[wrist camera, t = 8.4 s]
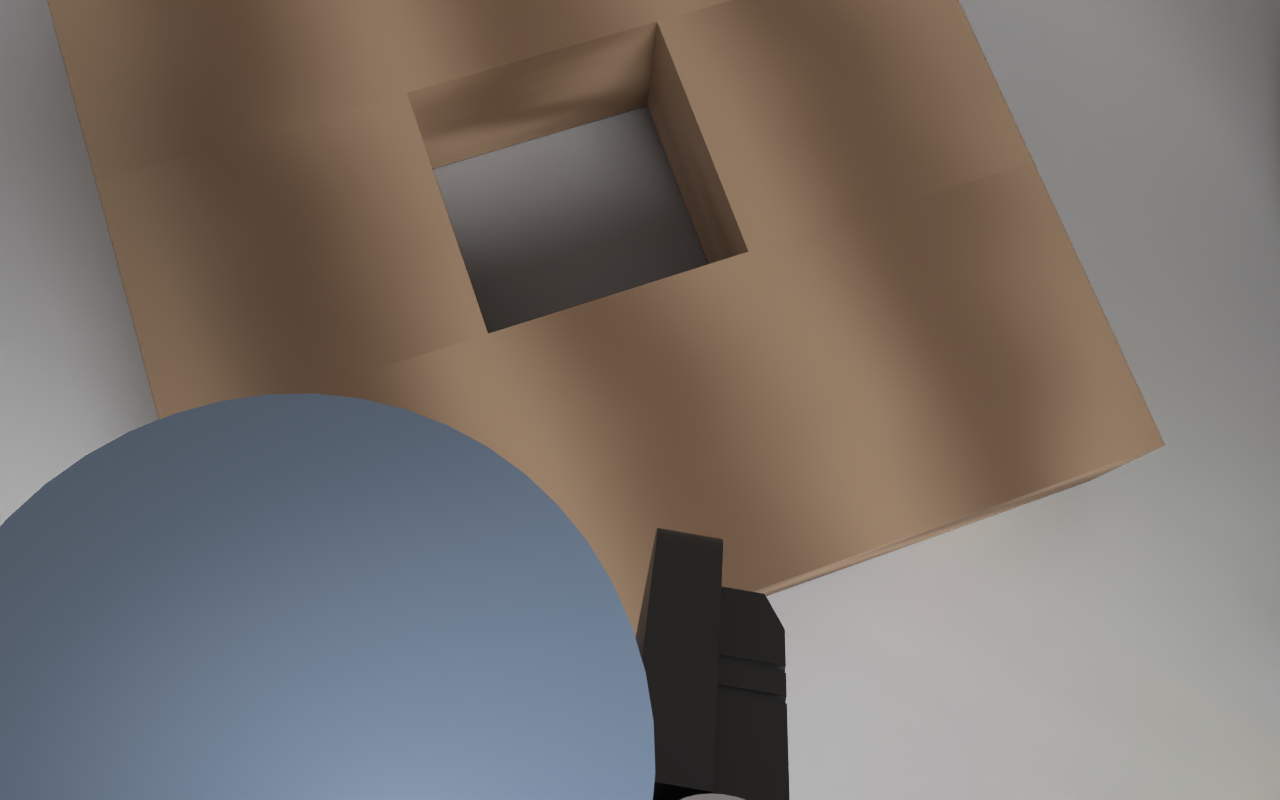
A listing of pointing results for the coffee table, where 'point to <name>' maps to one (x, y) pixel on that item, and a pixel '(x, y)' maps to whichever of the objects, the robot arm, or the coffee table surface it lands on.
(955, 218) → the socket block
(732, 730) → the robot arm
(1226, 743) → the coffee table surface
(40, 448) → the coffee table surface
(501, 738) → the peg
